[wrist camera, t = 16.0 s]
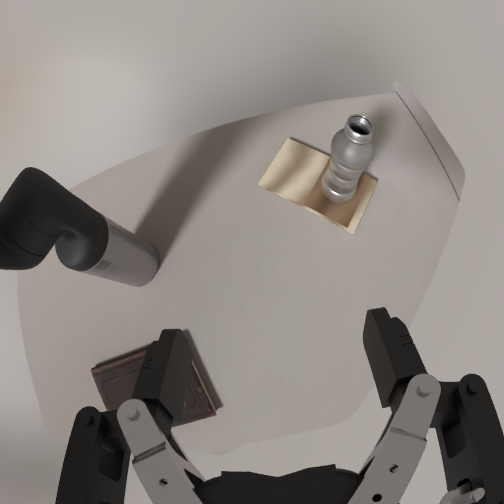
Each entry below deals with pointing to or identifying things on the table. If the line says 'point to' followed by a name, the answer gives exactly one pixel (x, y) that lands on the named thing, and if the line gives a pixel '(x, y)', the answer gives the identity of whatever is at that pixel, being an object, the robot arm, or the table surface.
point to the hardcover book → (124, 379)
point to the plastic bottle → (348, 159)
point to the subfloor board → (314, 185)
